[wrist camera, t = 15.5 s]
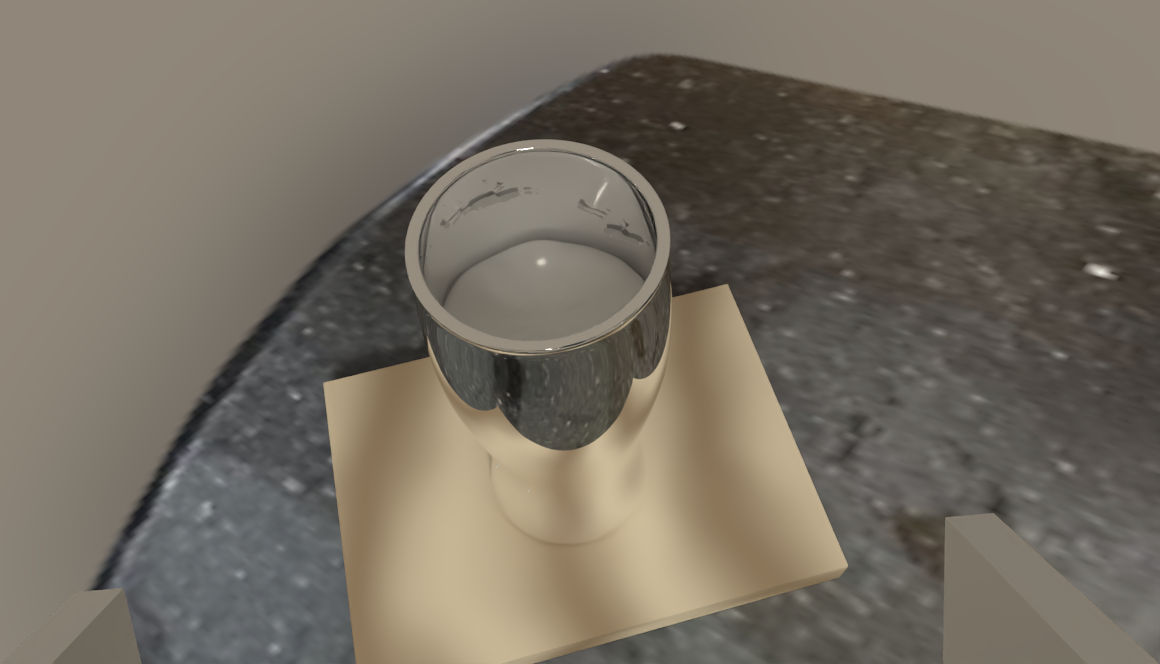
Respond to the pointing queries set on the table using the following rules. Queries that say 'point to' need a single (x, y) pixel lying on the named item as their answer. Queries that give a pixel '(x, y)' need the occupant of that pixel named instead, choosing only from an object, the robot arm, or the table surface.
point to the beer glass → (548, 324)
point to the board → (582, 571)
